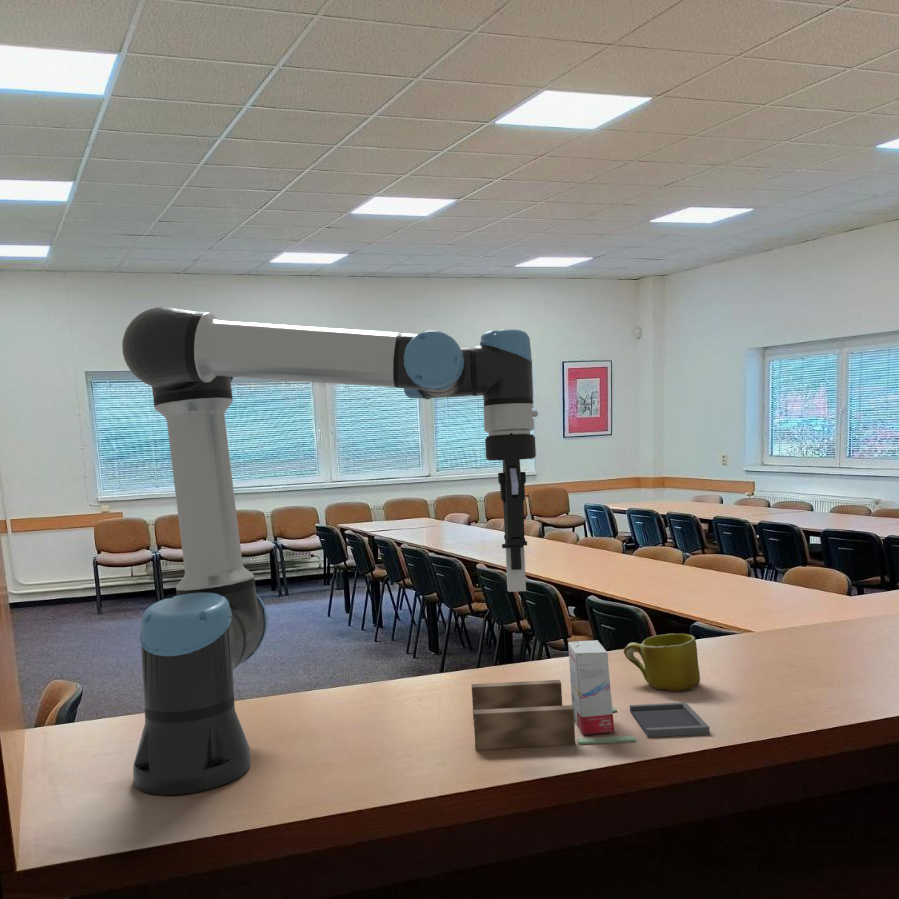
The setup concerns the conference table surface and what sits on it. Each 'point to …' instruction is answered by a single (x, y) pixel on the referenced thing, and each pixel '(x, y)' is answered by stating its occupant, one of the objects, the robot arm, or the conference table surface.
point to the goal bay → (606, 738)
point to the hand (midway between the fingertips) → (516, 590)
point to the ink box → (590, 687)
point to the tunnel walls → (521, 715)
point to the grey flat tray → (668, 719)
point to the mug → (667, 661)
